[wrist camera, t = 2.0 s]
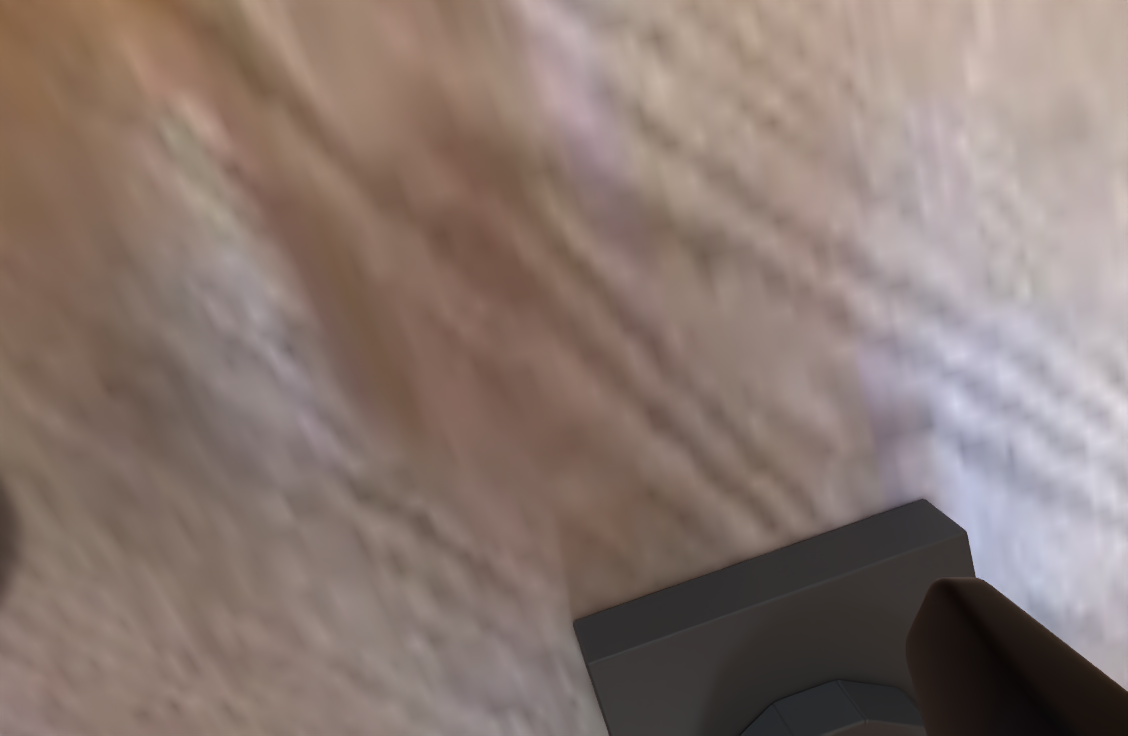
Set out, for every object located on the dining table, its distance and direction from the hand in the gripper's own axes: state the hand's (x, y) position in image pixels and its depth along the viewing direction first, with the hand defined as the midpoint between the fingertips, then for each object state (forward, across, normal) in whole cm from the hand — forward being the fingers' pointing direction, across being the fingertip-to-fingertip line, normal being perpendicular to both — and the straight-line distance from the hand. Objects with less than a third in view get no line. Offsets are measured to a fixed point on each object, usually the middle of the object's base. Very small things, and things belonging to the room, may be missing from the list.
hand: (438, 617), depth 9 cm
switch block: (+10, -11, +17) cm, 23 cm away
